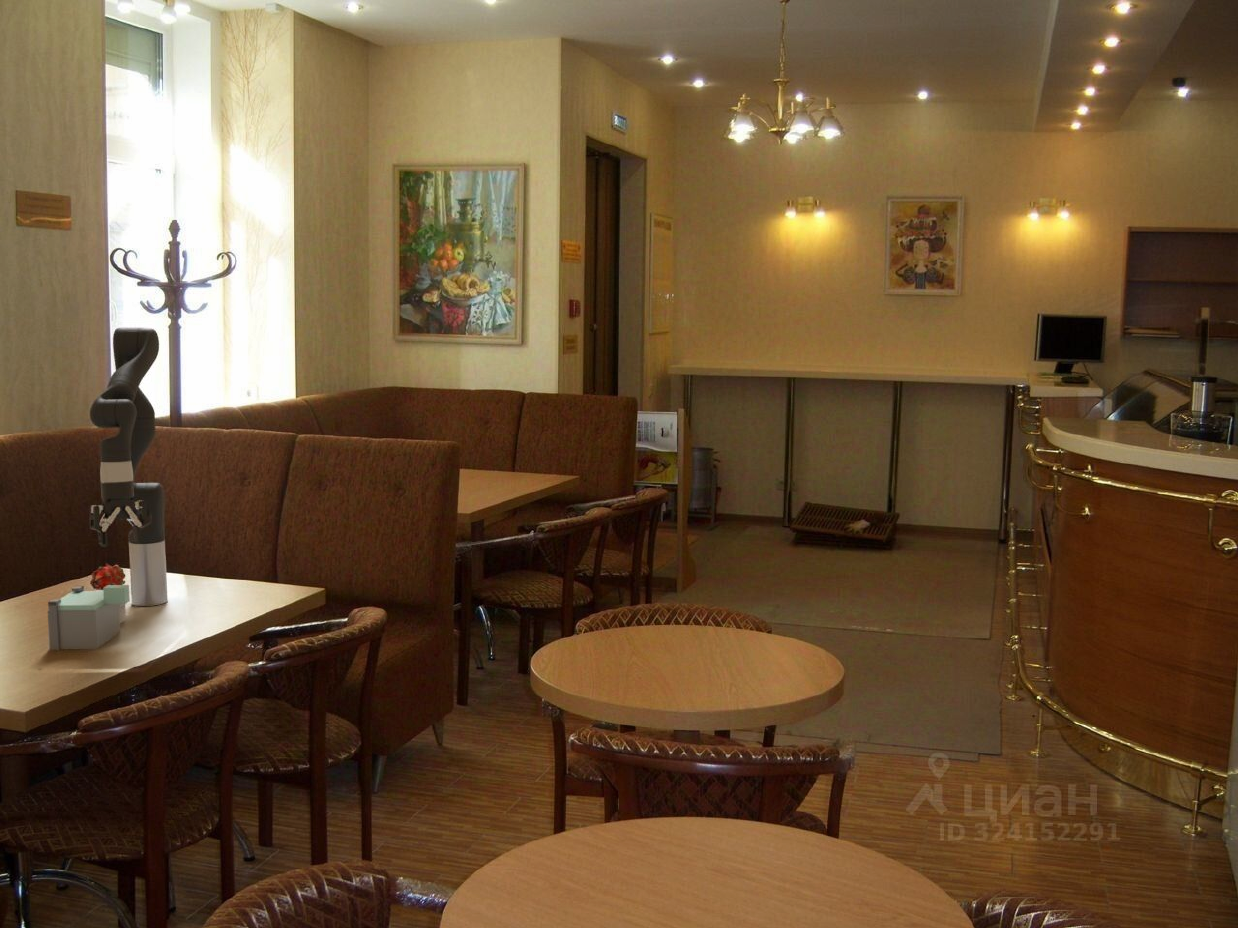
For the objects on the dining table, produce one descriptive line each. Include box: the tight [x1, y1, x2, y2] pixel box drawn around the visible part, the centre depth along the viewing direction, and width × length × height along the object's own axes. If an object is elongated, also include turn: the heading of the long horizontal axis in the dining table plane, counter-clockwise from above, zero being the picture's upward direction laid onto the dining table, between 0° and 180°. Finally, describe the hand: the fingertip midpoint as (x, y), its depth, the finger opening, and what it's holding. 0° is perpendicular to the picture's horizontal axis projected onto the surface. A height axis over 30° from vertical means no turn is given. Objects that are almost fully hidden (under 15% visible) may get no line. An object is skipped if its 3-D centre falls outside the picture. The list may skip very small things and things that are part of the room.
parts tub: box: [47, 585, 121, 651], centre depth 290 cm, size 17×11×12 cm, turn 3°
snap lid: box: [58, 584, 131, 611], centre depth 290 cm, size 14×16×4 cm
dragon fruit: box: [89, 563, 126, 590], centre depth 343 cm, size 8×8×12 cm
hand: (120, 544), depth 300 cm, fingers open, 8 cm apart
